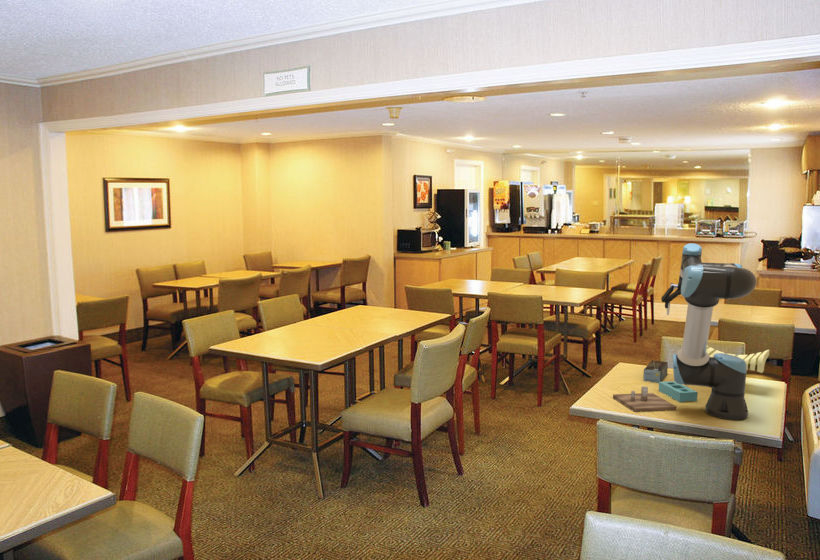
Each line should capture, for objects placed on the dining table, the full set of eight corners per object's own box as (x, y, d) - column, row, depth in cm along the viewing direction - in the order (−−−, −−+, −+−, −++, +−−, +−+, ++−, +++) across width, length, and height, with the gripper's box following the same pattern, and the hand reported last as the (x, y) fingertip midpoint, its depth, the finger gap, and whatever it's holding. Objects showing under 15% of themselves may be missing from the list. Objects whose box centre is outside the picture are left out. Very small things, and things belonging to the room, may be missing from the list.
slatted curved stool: (686, 383, 292) (688, 345, 290) (695, 376, 305) (697, 339, 302) (759, 396, 274) (763, 356, 272) (766, 388, 287) (769, 349, 284)
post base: (676, 410, 255) (677, 393, 254) (634, 412, 252) (635, 394, 251) (652, 396, 273) (653, 380, 272) (612, 398, 270) (613, 381, 269)
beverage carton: (642, 381, 296) (643, 367, 295) (650, 372, 312) (651, 358, 311) (660, 384, 292) (661, 369, 291) (667, 374, 308) (668, 361, 307)
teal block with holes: (696, 401, 266) (697, 392, 266) (679, 402, 265) (680, 392, 265) (675, 390, 282) (675, 381, 282) (658, 390, 281) (658, 381, 280)
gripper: (718, 271, 280) (711, 309, 292) (657, 270, 286) (653, 307, 298) (721, 281, 274) (714, 319, 286) (659, 280, 280) (655, 318, 292)
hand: (683, 313), depth 292 cm, fingers open, 13 cm apart
